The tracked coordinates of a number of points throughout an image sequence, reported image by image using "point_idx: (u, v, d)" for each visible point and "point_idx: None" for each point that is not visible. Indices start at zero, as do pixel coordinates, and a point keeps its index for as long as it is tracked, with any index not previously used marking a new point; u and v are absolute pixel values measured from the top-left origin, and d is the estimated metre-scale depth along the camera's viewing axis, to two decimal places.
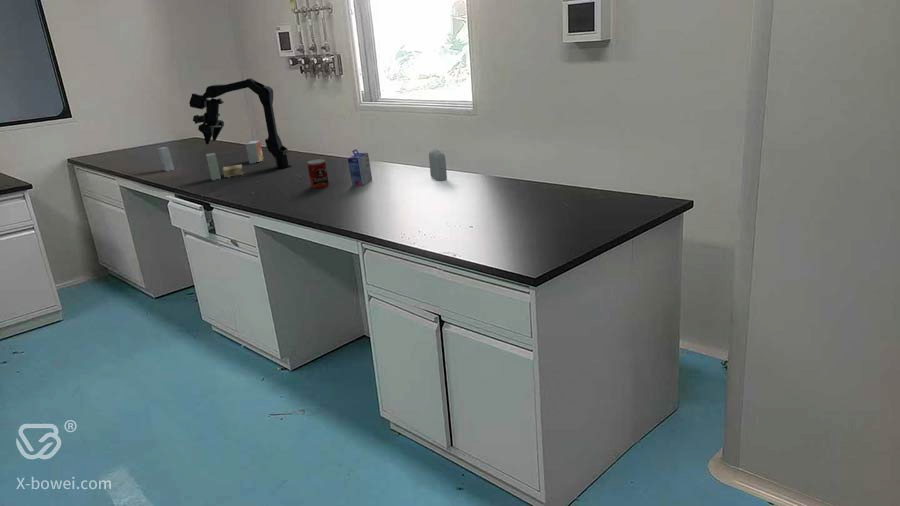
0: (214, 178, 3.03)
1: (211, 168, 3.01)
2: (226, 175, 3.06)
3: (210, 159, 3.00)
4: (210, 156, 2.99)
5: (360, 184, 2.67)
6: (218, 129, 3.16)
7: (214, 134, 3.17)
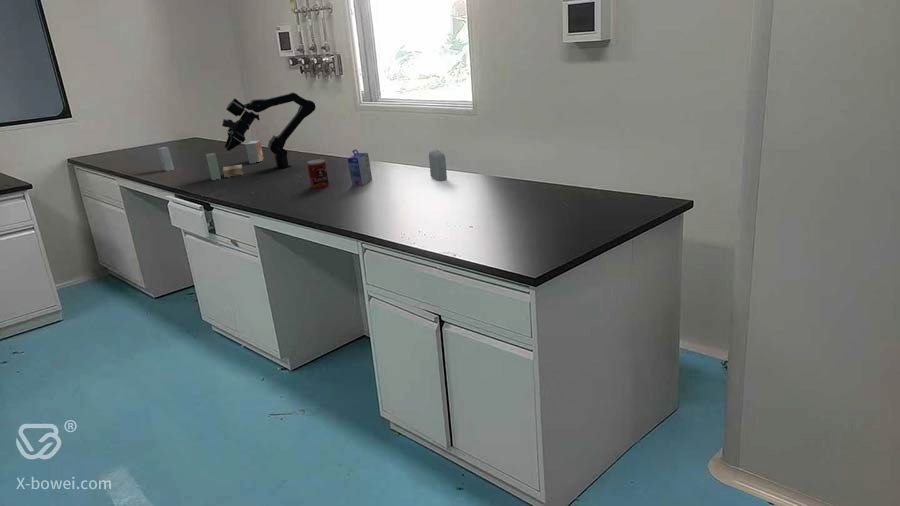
0: (214, 178, 3.03)
1: (211, 168, 3.01)
2: (226, 175, 3.06)
3: (210, 159, 3.00)
4: (210, 156, 2.99)
5: (360, 184, 2.67)
6: None
7: (229, 142, 3.08)
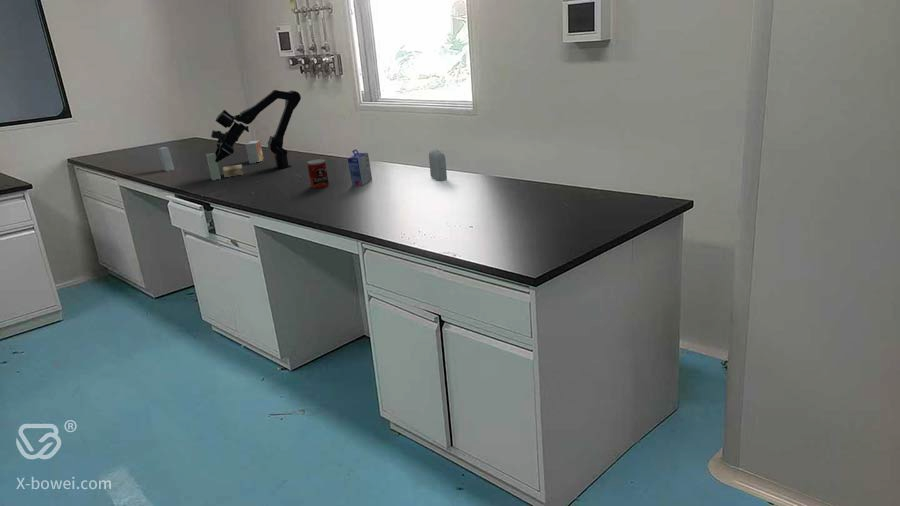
0: (214, 178, 3.03)
1: (211, 168, 3.01)
2: (226, 175, 3.06)
3: (210, 159, 3.00)
4: (210, 156, 2.99)
5: (360, 184, 2.67)
6: None
7: (217, 153, 3.07)
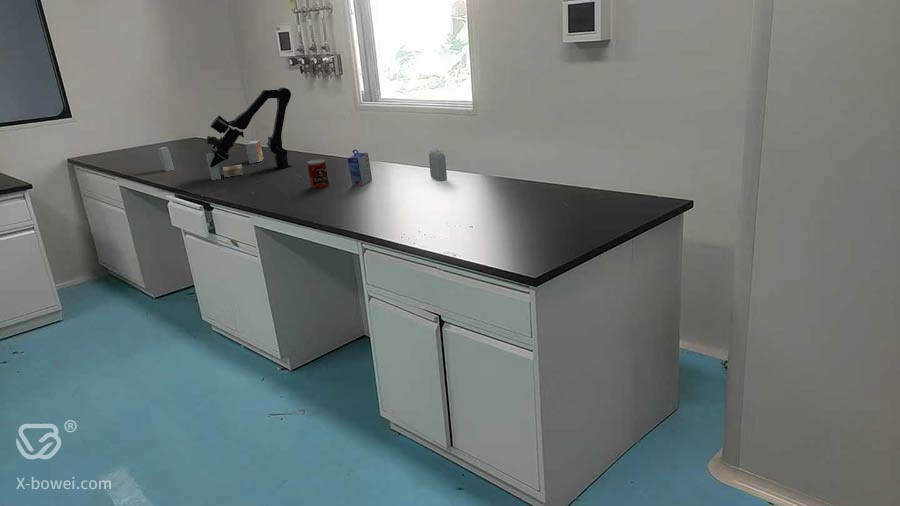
0: (214, 178, 3.03)
1: (211, 168, 3.01)
2: (226, 175, 3.06)
3: (210, 159, 3.00)
4: (210, 156, 2.99)
5: (360, 184, 2.67)
6: None
7: None
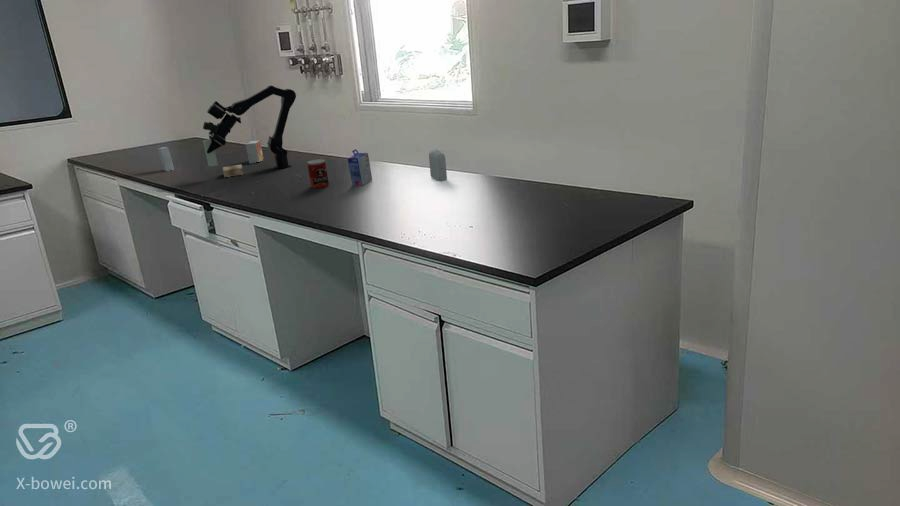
0: (211, 165, 3.00)
1: (208, 154, 2.99)
2: (226, 175, 3.06)
3: (207, 145, 2.97)
4: (207, 142, 2.97)
5: (360, 184, 2.67)
6: None
7: None
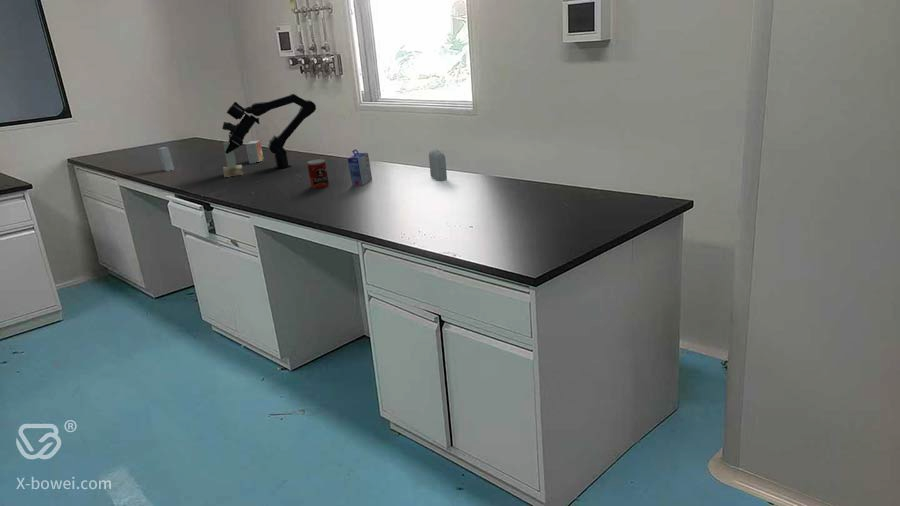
0: (229, 167, 3.07)
1: (227, 157, 3.05)
2: (226, 175, 3.06)
3: (226, 148, 3.03)
4: (227, 145, 3.03)
5: (360, 184, 2.67)
6: None
7: None
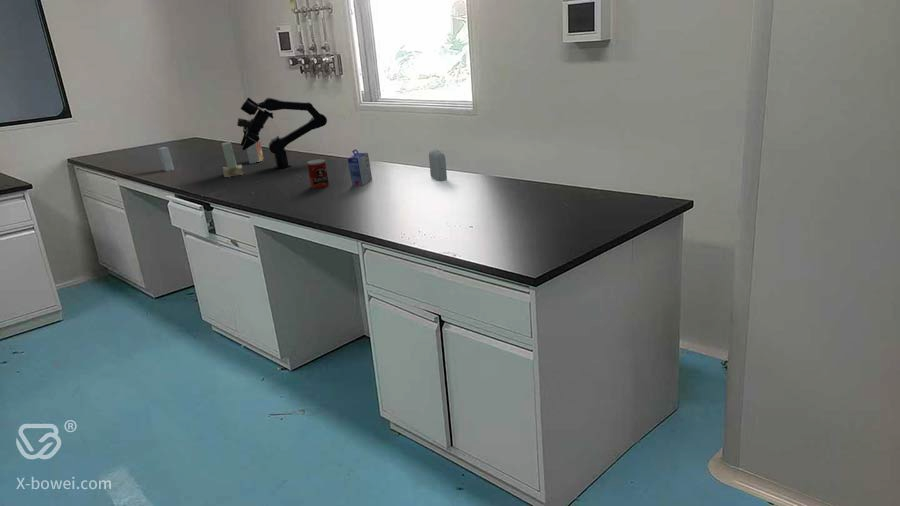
0: (230, 167, 3.07)
1: (226, 157, 3.05)
2: (226, 175, 3.06)
3: (225, 148, 3.03)
4: (225, 145, 3.03)
5: (360, 184, 2.67)
6: None
7: (245, 140, 3.13)
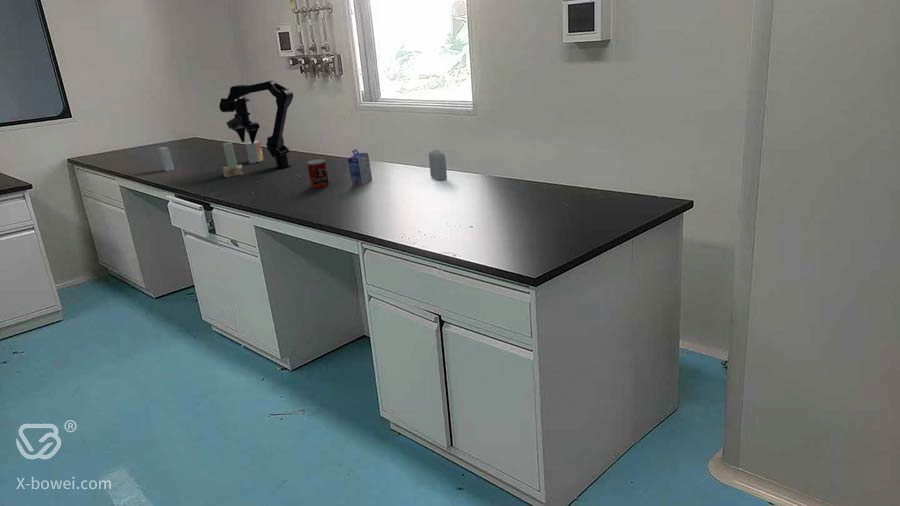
0: (230, 167, 3.07)
1: (227, 157, 3.05)
2: (226, 175, 3.06)
3: (226, 148, 3.03)
4: (226, 145, 3.03)
5: (360, 184, 2.67)
6: (243, 129, 3.20)
7: (242, 135, 3.20)
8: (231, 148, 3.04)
